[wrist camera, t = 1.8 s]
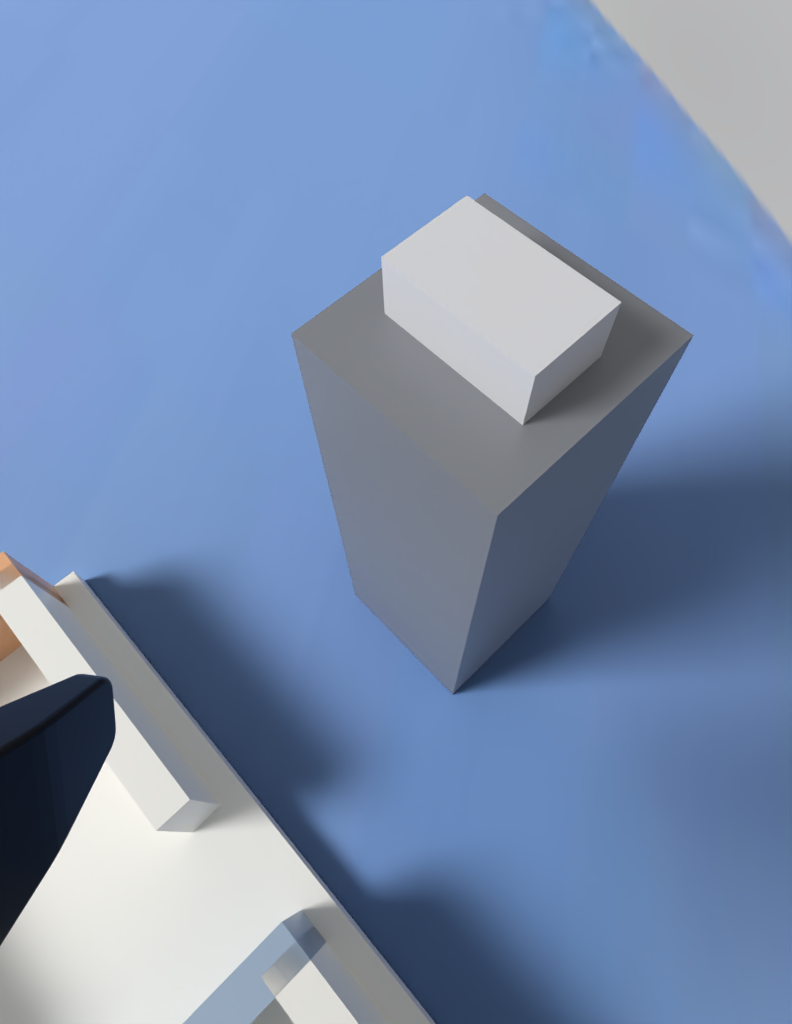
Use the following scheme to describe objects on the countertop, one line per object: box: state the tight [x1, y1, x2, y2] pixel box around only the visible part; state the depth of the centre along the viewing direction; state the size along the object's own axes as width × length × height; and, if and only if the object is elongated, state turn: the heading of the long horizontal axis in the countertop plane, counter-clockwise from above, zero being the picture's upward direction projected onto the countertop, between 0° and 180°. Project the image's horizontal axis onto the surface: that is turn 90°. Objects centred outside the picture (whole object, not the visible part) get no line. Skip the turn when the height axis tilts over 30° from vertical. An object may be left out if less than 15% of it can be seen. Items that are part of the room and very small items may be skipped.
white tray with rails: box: [0, 552, 436, 1024], centre depth 16 cm, size 22×11×4 cm, turn 44°
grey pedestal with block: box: [292, 194, 693, 694], centre depth 16 cm, size 4×4×14 cm
